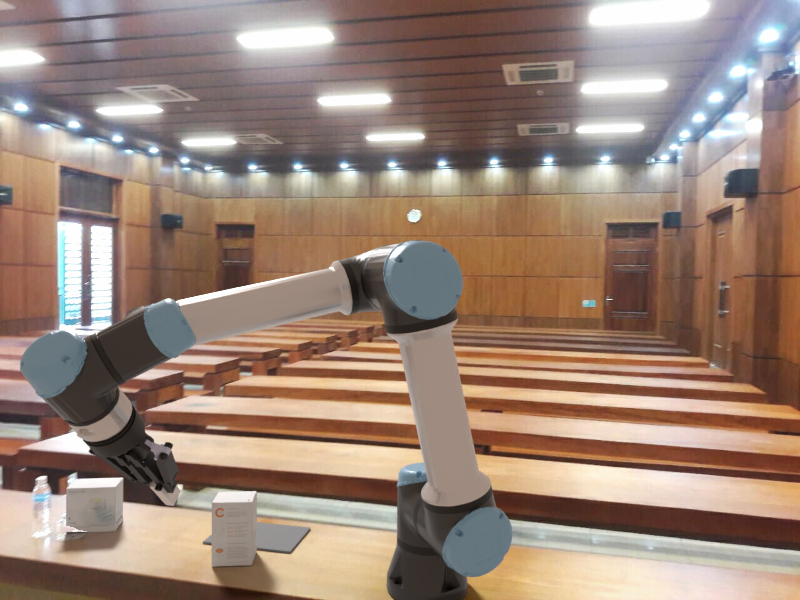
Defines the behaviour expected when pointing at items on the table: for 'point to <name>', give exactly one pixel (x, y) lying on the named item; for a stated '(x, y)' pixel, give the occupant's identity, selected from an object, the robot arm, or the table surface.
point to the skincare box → (95, 504)
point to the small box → (234, 528)
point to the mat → (276, 537)
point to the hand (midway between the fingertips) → (173, 497)
